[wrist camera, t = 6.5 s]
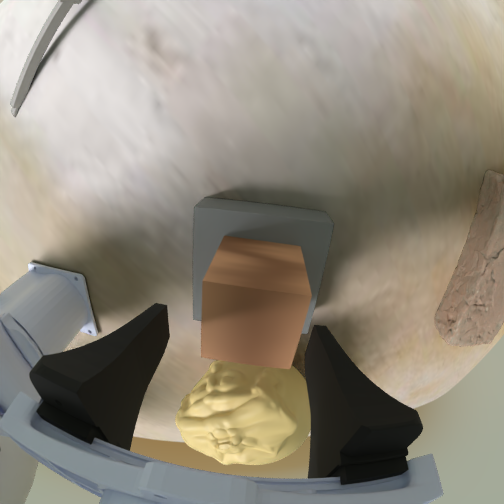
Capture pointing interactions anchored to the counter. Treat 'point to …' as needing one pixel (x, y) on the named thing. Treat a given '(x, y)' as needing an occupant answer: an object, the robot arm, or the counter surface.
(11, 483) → the blender
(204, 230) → the base
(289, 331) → the block
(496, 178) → the brick
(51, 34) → the caliper
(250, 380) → the sculpture
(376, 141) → the counter surface
